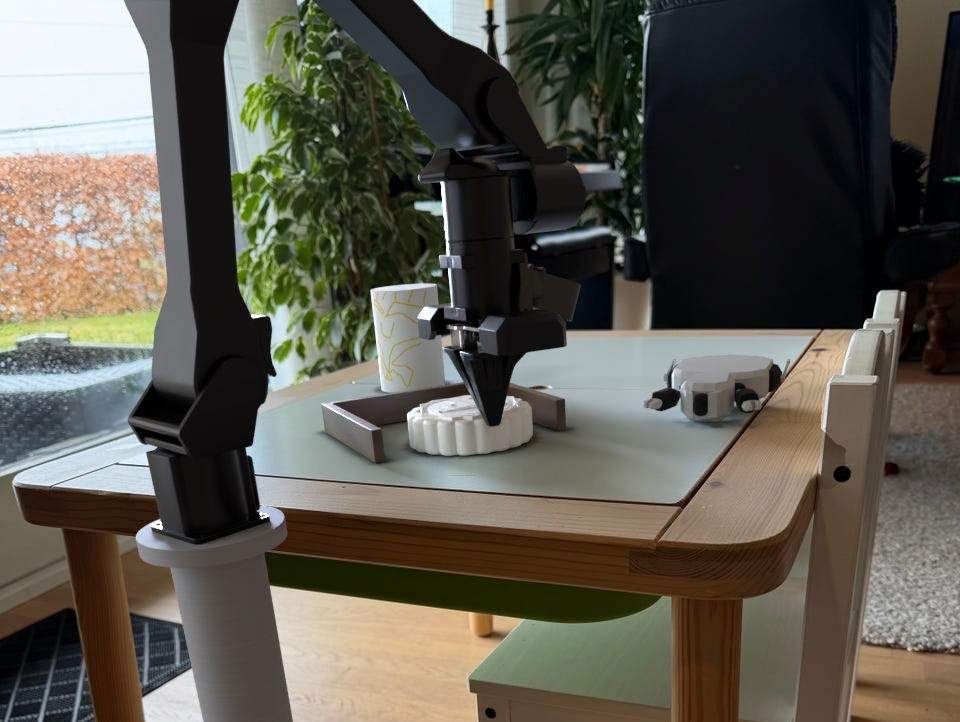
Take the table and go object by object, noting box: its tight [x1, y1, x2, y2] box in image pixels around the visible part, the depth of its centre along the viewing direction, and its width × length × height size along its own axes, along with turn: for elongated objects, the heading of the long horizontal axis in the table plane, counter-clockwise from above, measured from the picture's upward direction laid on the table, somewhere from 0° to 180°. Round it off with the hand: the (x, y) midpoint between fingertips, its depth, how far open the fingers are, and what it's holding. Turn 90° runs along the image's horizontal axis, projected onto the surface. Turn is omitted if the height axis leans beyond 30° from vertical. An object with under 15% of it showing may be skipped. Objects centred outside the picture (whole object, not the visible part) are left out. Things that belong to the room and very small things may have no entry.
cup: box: [370, 283, 446, 394], centre depth 122 cm, size 8×8×12 cm
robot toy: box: [642, 354, 791, 423], centre depth 99 cm, size 12×4×15 cm
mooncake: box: [407, 395, 534, 457], centre depth 94 cm, size 12×12×4 cm
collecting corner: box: [320, 381, 567, 464], centre depth 100 cm, size 16×20×3 cm
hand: (493, 425), depth 88 cm, fingers closed
